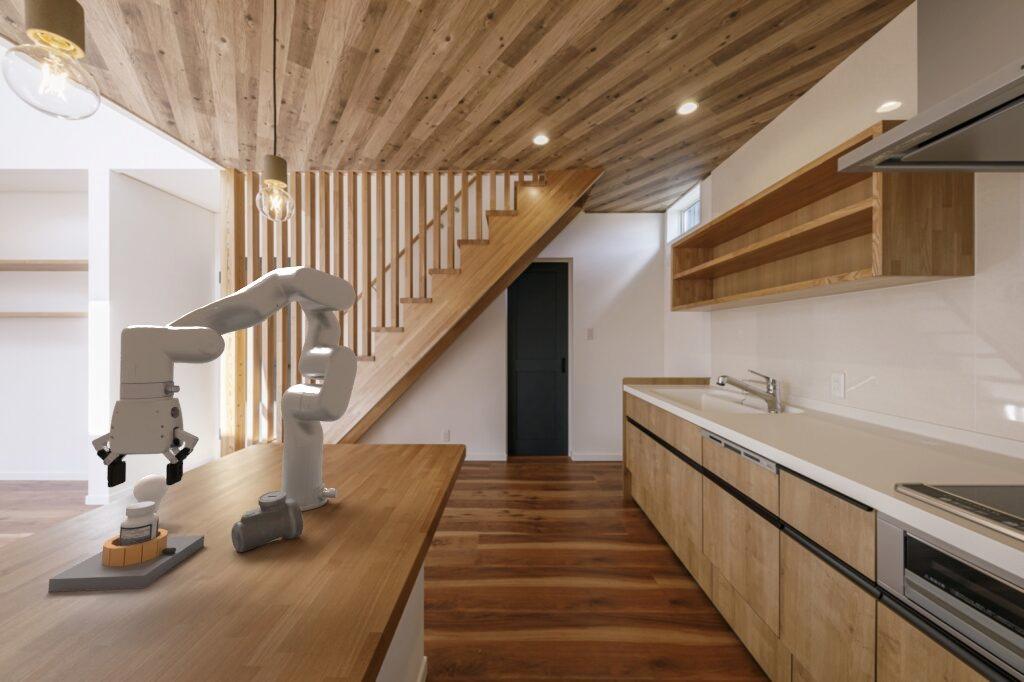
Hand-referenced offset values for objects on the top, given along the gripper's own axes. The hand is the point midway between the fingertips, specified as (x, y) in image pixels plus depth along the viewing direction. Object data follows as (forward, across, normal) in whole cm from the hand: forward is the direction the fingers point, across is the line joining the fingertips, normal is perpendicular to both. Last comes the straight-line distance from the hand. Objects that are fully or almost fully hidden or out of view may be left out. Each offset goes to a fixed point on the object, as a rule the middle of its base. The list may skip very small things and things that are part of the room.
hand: (145, 484), depth 77 cm
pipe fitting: (+15, -18, -7) cm, 25 cm away
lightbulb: (+15, +13, -20) cm, 28 cm away
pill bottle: (+13, 0, +1) cm, 13 cm away
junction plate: (+14, +1, +1) cm, 14 cm away
